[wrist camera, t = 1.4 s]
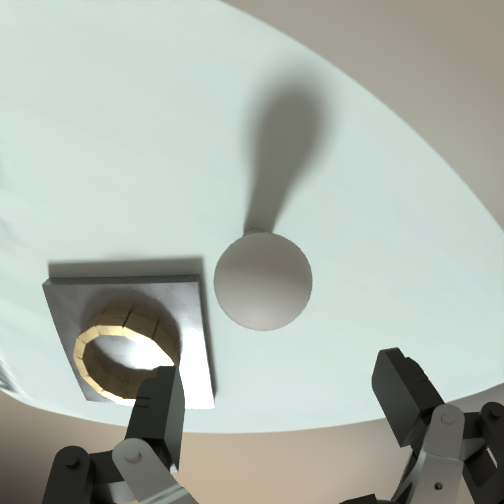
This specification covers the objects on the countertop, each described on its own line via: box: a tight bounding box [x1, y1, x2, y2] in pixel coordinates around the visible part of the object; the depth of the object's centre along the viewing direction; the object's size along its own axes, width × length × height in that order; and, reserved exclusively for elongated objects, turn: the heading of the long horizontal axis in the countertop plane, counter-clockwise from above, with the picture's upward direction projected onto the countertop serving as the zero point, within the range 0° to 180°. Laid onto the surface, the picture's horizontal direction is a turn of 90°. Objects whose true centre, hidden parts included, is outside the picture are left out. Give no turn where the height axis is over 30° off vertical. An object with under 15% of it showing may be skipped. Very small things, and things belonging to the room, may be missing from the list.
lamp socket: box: [42, 275, 215, 408], centre depth 29 cm, size 16×16×4 cm
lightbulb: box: [214, 229, 312, 331], centre depth 22 cm, size 6×6×11 cm
